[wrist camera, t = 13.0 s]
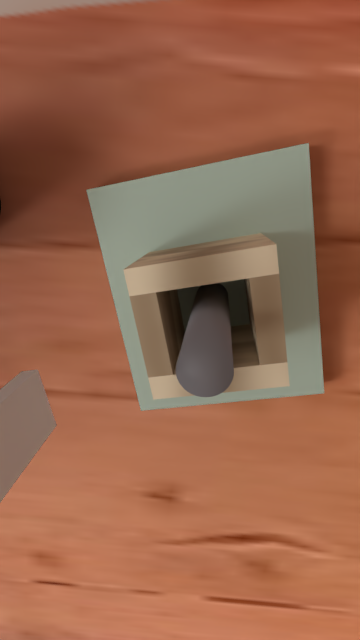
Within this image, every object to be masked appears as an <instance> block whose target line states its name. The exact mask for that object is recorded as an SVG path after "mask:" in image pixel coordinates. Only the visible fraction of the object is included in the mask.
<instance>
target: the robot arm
mask: <svg viewBox="0 0 360 640" xmlns="http://www.w3.org/2000/svg"><path fill="white" fill-rule="evenodd" d="M55 427H56V422H55V419H54V416H53V413H52V410H51V407H50V404H49V401H48V398H47V395H46V392H45V389H44V387H43V384H42V381H41V378H40V375H39V372H38V370H30V371H22V372H20V373H19V374H18V375H17V376H15V377H14V378H13V379H12V380H11V381H10V382H8V383H7V384H6V385H5V386H4V387H3V388H1V389H0V502H1V501H2V500H3V498H4V497H5V495H6V494H7V493H8V491H9V490H10V489H11V487H12V486H13V484H14V483H15V482H16V480H17V479H18V478H19V476H20V475H21V473H22V472H23V471H24V469H25V468H26V467H27V465H28V464H29V462H30V461H31V460H32V458H33V457H34V456H35V454H36V453H37V451H38V450H39V449H40V447H41V446H42V445H43V443H44V442H45V441H46V439H47V438H48V436H49V435H50V434H51V432H52V431H53V430H54V428H55Z"/></svg>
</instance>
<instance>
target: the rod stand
mask: <svg viewBox="0 0 360 640" xmlns="http://www.w3.org/2000/svg"><path fill="white" fill-rule="evenodd" d="M86 191H87V195H88V199H89V203H90V207H91V211H92V215H93V219H94V223H95V227H96V231H97V235H98V239H99V243H100V247H101V251H102V255H103V259H104V263H105V267H106V271H107V275H108V279H109V283H110V288H111V292H112V296H113V300H114V304H115V308H116V312H117V316H118V320H119V324H120V328H121V332H122V336H123V340H124V344H125V348H126V352H127V356H128V360H129V364H130V368H131V372H132V376H133V380H134V385H135V389H136V393H137V397H138V401H139V405H140V409H141V411H143V410H154V409H164V408H175V407H185V406H196V405H206V404H217V403H227V402H238V401H248V400H259V399H269V398H280V397H290V396H301V395H311V394H322V393H324V382H323V366H322V349H321V333H320V317H319V301H318V285H317V269H316V252H315V236H314V220H313V204H312V188H311V171H310V155H309V143H306V144H301V145H296V146H292V147H287V148H282V149H277V150H273V151H268V152H263V153H258V154H254V155H249V156H244V157H239V158H235V159H230V160H225V161H221V162H216V163H211V164H206V165H202V166H197V167H192V168H187V169H183V170H178V171H173V172H168V173H164V174H159V175H154V176H150V177H145V178H140V179H135V180H131V181H126V182H121V183H116V184H112V185H107V186H102V187H97V188H93V189H88V190H86ZM258 233H262V234H263V235H265V236H266V237H267V238H269V239H270V240H271V241H273V242H274V243H276V245H277V256H278V267H279V277H280V288H281V299H282V309H283V320H284V331H285V341H286V352H287V362H288V373H289V384H290V386H286V387H276V388H266V389H256V390H246V391H236V392H226V393H223V392H224V391H225V390H226V389H227V388H228V387H229V386H230V384H231V382H232V380H233V376H234V366H233V353H232V339H231V326H239V325H246V324H250V320H249V312H248V304H247V296H246V288H245V280H244V279H241V280H234V281H228V282H221V283H214V284H208V285H201V286H195V287H188V288H182V289H177V293H178V298H179V304H180V309H181V314H182V320H183V325H184V330H185V336H184V339H183V343H182V346H181V350H180V353H179V357H178V361H177V364H176V376H177V379H178V382H179V383H180V385H181V386H182V387H183V388H184V389H185V390H186V391H187V392H189V393H191V394H193V395H195V396H185V397H175V398H165V399H155V400H153V396H152V392H151V388H150V383H149V379H148V375H147V370H146V366H145V362H144V358H143V353H142V349H141V345H140V340H139V336H138V332H137V327H136V323H135V319H134V314H133V310H132V306H131V301H130V297H129V293H128V288H127V284H126V280H125V275H124V271H123V269H125V268H126V267H128V266H129V265H131V264H132V263H134V262H135V261H137V260H138V259H140V258H141V257H143V256H144V255H146V254H147V253H149V252H153V251H159V250H165V249H171V248H176V247H182V246H188V245H194V244H200V243H205V242H211V241H217V240H223V239H229V238H234V237H240V236H246V235H252V234H258Z"/></svg>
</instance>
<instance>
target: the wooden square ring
mask: <svg viewBox="0 0 360 640" xmlns="http://www.w3.org/2000/svg"><path fill="white" fill-rule="evenodd" d="M123 271H124V275H125V280H126V284H127V288H128V293H129V297H130V301H131V306H132V310H133V314H134V319H135V323H136V327H137V332H138V336H139V340H140V345H141V349H142V353H143V358H144V362H145V366H146V370H147V375H148V379H149V383H150V388H151V392H152V396H153V400H155V399H165V398H175V397H185V396H195V395H193V394H191V393H189V392H187V391H186V390H185V389H184V388H183V387H182V386H181V385H180V383H179V382H178V379H177V376H176V364H177V361H178V357H179V353H180V350H181V346H182V343H183V339H184V336H185V330H184V325H183V320H182V314H181V309H180V304H179V298H178V293H177V289H182V288H188V287H195V286H201V285H208V284H214V283H221V282H228V281H234V280H241V279H244V280H245V288H246V296H247V304H248V312H249V320H250V324H246V325H239V326H231V339H232V353H233V366H234V376H233V380H232V382H231V384H230V386H229V387H228V388H227V389H226V390H225V391H224V392H223V393H226V392H236V391H246V390H256V389H266V388H276V387H286V386H290V384H289V373H288V362H287V352H286V341H285V331H284V320H283V309H282V299H281V288H280V277H279V267H278V256H277V245H276V243H274V242H273V241H271V240H270V239H269V238H267V237H266V236H265V235H263V234H262V233H258V234H252V235H246V236H240V237H234V238H229V239H223V240H217V241H211V242H205V243H200V244H194V245H188V246H182V247H176V248H171V249H165V250H159V251H153V252H149V253H147V254H146V255H144V256H143V257H141V258H140V259H138V260H137V261H135V262H134V263H132V264H131V265H129V266H128V267H126V268H125V269H123Z"/></svg>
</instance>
